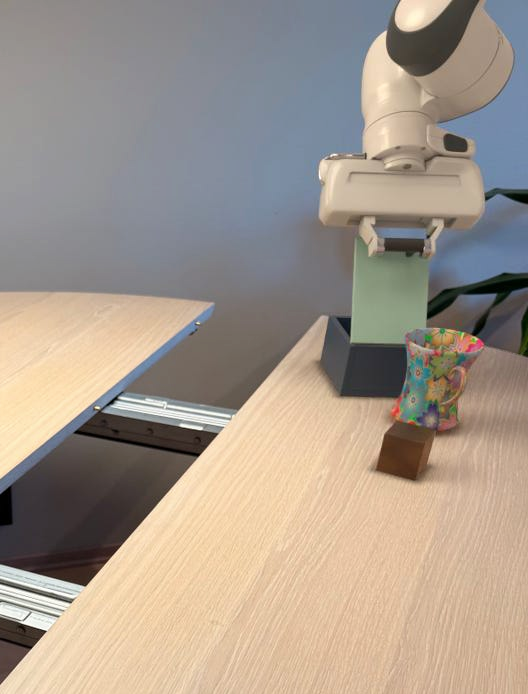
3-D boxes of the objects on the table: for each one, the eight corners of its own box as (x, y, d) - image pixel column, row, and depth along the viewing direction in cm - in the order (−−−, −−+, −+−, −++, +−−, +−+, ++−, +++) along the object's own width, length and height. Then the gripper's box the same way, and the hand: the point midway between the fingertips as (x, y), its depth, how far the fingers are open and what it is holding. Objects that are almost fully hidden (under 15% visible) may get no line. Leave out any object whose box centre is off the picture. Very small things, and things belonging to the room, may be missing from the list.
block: (426, 466, 115) (436, 429, 112) (414, 480, 112) (424, 443, 109) (387, 456, 117) (396, 420, 114) (375, 470, 114) (384, 433, 111)
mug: (374, 407, 129) (393, 327, 123) (442, 407, 130) (464, 327, 124) (410, 447, 119) (432, 362, 113) (483, 446, 120) (509, 361, 114)
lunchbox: (319, 362, 142) (328, 315, 138) (385, 363, 142) (396, 317, 138) (340, 395, 132) (350, 346, 128) (411, 397, 132) (423, 348, 128)
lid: (354, 238, 127) (367, 225, 122) (428, 240, 127) (443, 227, 123) (350, 343, 128) (362, 334, 123) (423, 345, 128) (438, 336, 123)
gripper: (325, 136, 122) (327, 239, 120) (488, 141, 123) (493, 244, 120) (311, 168, 129) (312, 266, 127) (466, 173, 129) (470, 271, 127)
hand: (402, 255), depth 123 cm, fingers closed on lid, 5 cm apart
